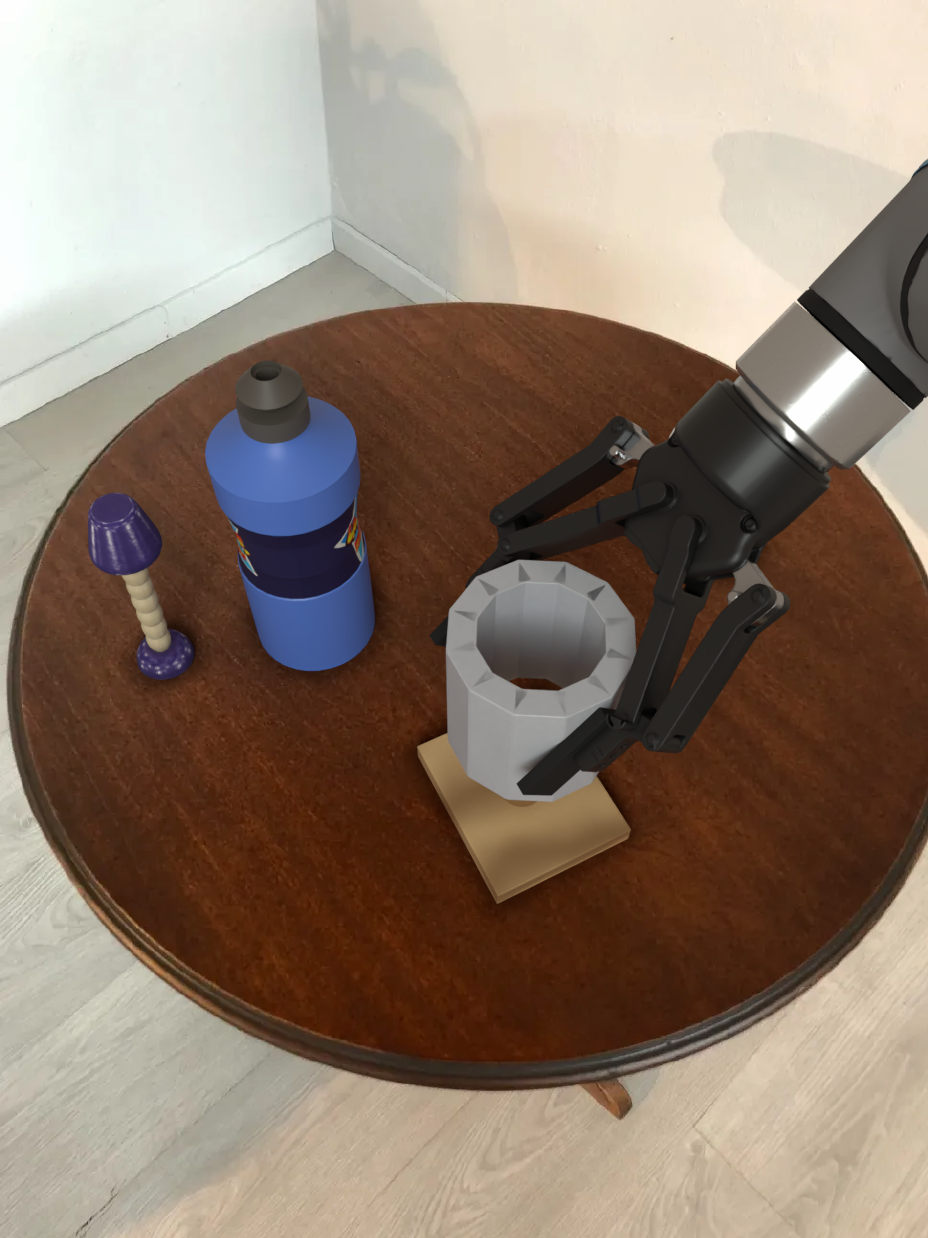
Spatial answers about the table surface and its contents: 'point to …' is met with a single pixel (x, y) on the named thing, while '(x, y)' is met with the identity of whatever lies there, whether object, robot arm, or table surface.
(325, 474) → the water bottle
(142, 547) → the toy lamp
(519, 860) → the stand
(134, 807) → the table surface
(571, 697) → the silver tape
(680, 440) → the robot arm
